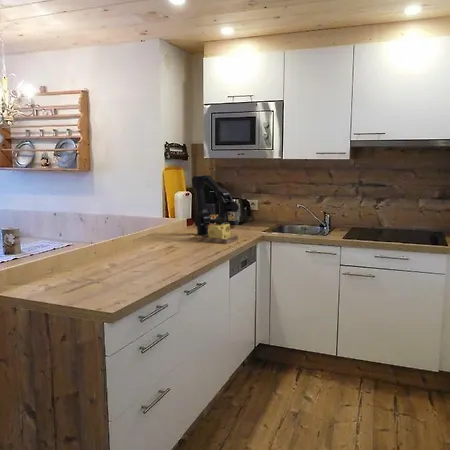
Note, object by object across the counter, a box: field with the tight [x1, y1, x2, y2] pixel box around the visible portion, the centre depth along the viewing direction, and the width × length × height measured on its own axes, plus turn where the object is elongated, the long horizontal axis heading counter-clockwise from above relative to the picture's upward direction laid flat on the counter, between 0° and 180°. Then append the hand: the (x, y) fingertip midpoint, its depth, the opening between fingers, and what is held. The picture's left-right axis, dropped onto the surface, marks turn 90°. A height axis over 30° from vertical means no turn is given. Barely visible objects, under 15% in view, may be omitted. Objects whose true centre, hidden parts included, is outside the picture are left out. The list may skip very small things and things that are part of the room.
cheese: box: [207, 223, 231, 239], centre depth 276 cm, size 10×11×10 cm
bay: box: [198, 234, 239, 245], centre depth 277 cm, size 20×14×2 cm
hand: (224, 235), depth 283 cm, fingers closed, pressing on cheese
